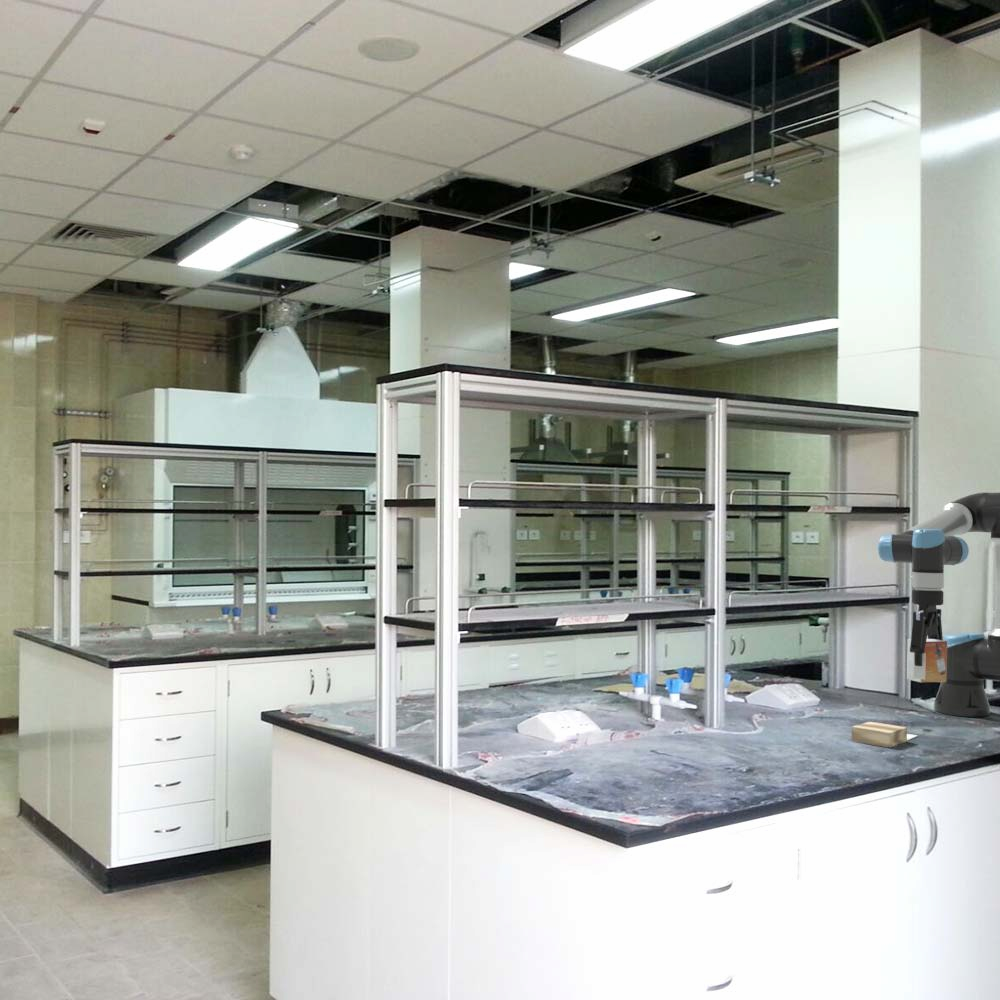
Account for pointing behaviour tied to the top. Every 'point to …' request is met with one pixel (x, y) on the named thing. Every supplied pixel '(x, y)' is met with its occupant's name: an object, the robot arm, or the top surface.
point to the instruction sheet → (911, 736)
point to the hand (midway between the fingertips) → (926, 676)
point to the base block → (879, 734)
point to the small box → (930, 661)
